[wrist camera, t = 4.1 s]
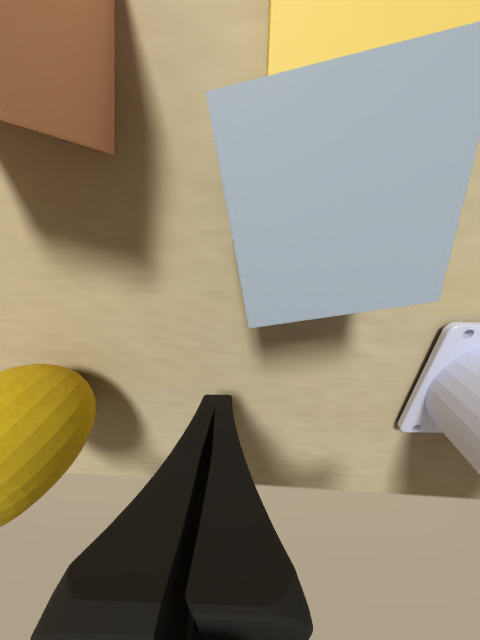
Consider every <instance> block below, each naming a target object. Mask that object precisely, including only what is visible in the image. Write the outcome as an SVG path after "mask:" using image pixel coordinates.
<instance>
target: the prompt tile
mask: <svg viewBox="0 0 480 640" xmlns="http://www.w3.org/2000/svg"><path fill="white" fill-rule="evenodd" d="M479 21H480V0H269V23H268V49H267V74H266V76H269V75H273V74H277V73H280V72H284V71H288V70H292V69H296V68H300V67H304V66H308V65H312V64H315V63H319V62H323V61H327V60H331V59H335V58H339V57H343V56H347V55H350V54H354V53H358V52H362V51H366V50H370V49H374V48H378V47H382V46H386V45H389V44H393V43H397V42H401V41H405V40H409V39H413V38H417V37H421V36H424V35H428V34H432V33H436V32H440V31H444V30H448V29H452V28H456V27H459V26H463V25H467V24H471V23H475V22H479Z"/></svg>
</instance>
